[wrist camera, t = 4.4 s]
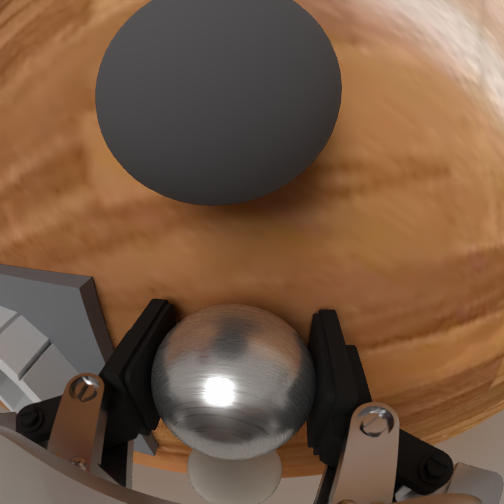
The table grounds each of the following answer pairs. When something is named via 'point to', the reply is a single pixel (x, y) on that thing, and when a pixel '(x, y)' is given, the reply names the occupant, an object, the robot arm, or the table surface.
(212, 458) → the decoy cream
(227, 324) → the steel ball
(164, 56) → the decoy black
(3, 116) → the table surface
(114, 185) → the table surface
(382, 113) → the table surface
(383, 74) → the table surface
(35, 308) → the housing
